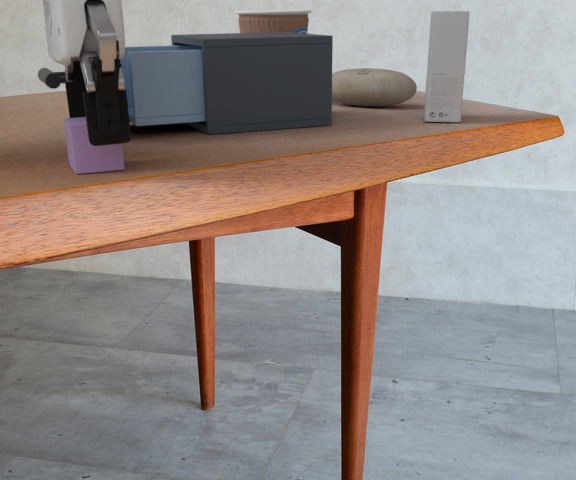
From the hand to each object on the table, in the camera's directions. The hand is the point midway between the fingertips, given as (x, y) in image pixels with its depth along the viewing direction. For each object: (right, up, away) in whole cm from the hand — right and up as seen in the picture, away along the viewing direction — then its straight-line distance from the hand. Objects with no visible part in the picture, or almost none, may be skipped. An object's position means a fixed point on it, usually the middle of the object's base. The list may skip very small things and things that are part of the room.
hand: (99, 135), depth 62 cm
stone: (+27, +11, +36) cm, 47 cm away
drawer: (-1, +5, +19) cm, 20 cm away
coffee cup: (+14, +13, +42) cm, 47 cm away
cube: (-1, -3, +1) cm, 3 cm away
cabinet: (+12, +7, +24) cm, 28 cm away
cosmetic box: (+34, +7, +25) cm, 43 cm away
